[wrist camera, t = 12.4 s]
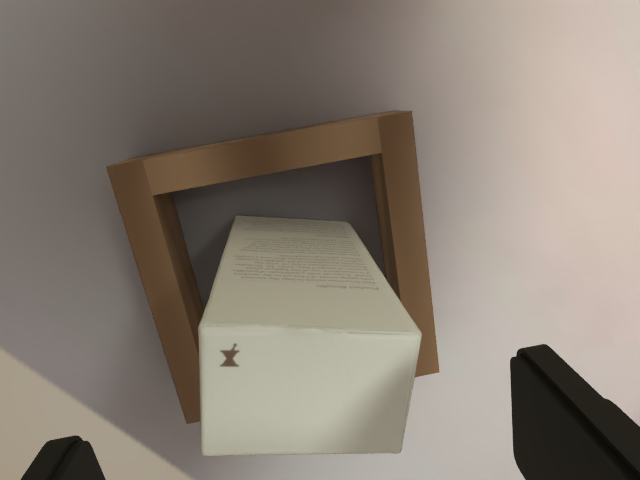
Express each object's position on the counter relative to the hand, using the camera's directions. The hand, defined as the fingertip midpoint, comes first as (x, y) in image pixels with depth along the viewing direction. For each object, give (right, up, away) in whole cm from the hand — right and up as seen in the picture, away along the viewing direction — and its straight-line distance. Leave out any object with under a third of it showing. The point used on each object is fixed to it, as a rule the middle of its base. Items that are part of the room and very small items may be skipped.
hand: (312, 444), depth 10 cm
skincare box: (-1, +4, +14) cm, 15 cm away
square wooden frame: (-1, +3, +14) cm, 14 cm away
